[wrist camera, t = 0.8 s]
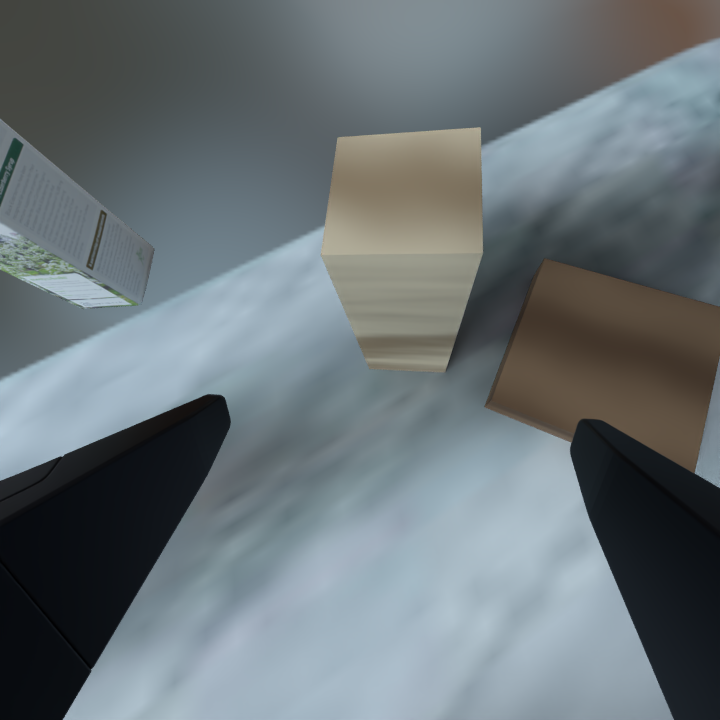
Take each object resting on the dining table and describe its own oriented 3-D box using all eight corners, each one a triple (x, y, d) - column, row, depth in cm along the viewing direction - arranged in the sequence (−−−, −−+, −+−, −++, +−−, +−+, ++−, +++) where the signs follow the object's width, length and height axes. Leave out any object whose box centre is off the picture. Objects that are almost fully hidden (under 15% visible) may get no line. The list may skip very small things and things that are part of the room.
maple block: (444, 372, 22) (483, 253, 10) (369, 368, 23) (320, 254, 11) (446, 303, 24) (480, 127, 12) (375, 302, 25) (337, 137, 12)
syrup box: (157, 247, 29) (-65, 53, 16) (143, 309, 28) (-122, 151, 14) (98, 252, 30) (-160, 72, 17) (81, 312, 28) (-225, 167, 15)
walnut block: (658, 479, 19) (692, 481, 17) (482, 408, 22) (491, 400, 19) (694, 327, 21) (729, 309, 19) (531, 279, 24) (544, 258, 22)
